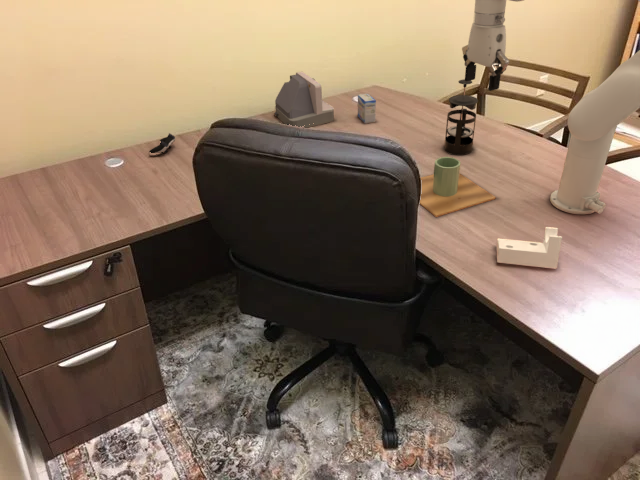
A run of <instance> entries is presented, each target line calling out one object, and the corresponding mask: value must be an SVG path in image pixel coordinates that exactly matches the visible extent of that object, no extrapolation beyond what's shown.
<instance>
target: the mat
mask: <svg viewBox="0 0 640 480" xmlns="http://www.w3.org/2000/svg"><path fill="white" fill-rule="evenodd" d="M433 177H434V173H432V174H428V175H425V176H422V177H420V178H421V180H422V194H421V200H420V204H419V205H420V206H421V207H422V208H424V209H425V210H426V211H428V212H429V213H430V214H431V215H432V216H434V217H435V218H438V217H442V216H445V215H448V214H452V213H454V212H455V213H456V212H457V211H460V210H464V209H468V208H470V207H473V206H477V205H481V204H484V203H488V202H490V201H494V200H496V198H497V197H496V196H495V195H493V194H492V193H491V192H489V191H487V190H486V189H484V188H483V187H481V186H479V185H478V184H477V183H475V182H473V181H472V180H470V179H469V178H468V177H466V176H465V175H463V174H461V173H460V174H459V183H458V190H457V193H456V194H455V195H453V196H440V195H437V194H435V193H434V192H433Z"/></svg>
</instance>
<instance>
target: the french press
mask: <svg viewBox="0 0 640 480" xmlns="http://www.w3.org/2000/svg"><path fill="white" fill-rule="evenodd" d="M458 84H461V85H462V87H463V93H462V94H458V95H453V96H450V97H449V98H448V102H449V108H450V109H452V110H451V111H448V112H447V115H446V116H447V117H446V126H445V127H446V128H445V139H444V145H443V150H444V152H446V153H448V154H450V155H454V156H465V155H469V154H471V153H472V152H473V150H474V147H473V145H474V138H475V137H474V136H475V129H476V120H477V114H476V112H474V111H473V110H475V109H476V108H477V104H478V103H479V99H478V98H477V97H475V96H472V95H468V94H467V95H466V88H467V85H471V84H473V80H471V81H465V78H463V79H460V80H458ZM456 107H461V108H460V109H454V108H456ZM464 107H465V108H464ZM458 114H459V119H457V118H453V117H451V116H452V115H458ZM467 115H469V116H472V118H469V119H467ZM449 122H450V123H453V124H456V125H454V126H450V127H448V126H449ZM472 123H473V129H472V128H471V127H469V126H466V125H469V124H472ZM471 136H472V137H471Z"/></svg>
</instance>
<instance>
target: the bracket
mask: <svg viewBox="0 0 640 480" xmlns="http://www.w3.org/2000/svg"><path fill="white" fill-rule="evenodd" d="M544 229H545V230H544V235H543V240H542V242H539V241H529V240H519V239H511V238H510V239H509V238H499V237H498V238H497V241H496V247H495V249H496V263H500V264H507V265H518V266H527V267H534V268H535V267H536V268H546V269H553V270H554V269H555V270H557V269H558V264H559V257H560V253H561V248H562V243H563V236H562V235H558V232H559V228H558V227H552V226H551V227H550V226H545V228H544Z"/></svg>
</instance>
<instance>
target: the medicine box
mask: <svg viewBox="0 0 640 480" xmlns="http://www.w3.org/2000/svg"><path fill="white" fill-rule="evenodd" d="M376 117H377V100H376V99H375V98H374V97H373V96H371V94H369V93H361V94H358V95H357V118H359V119H360V121H362V122H363V123H364V124H373V123H376V121H377V118H376Z"/></svg>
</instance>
